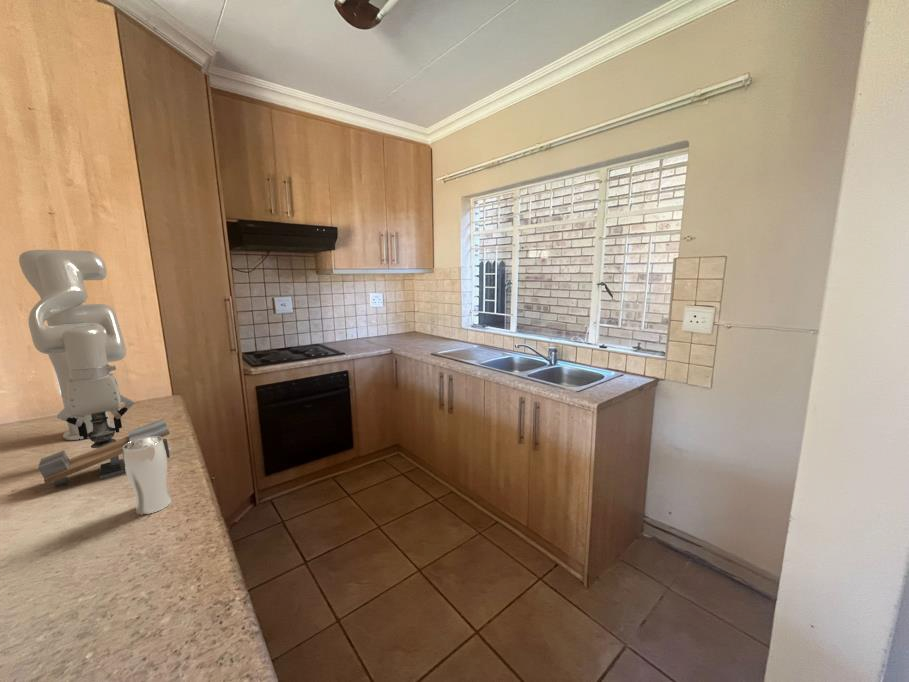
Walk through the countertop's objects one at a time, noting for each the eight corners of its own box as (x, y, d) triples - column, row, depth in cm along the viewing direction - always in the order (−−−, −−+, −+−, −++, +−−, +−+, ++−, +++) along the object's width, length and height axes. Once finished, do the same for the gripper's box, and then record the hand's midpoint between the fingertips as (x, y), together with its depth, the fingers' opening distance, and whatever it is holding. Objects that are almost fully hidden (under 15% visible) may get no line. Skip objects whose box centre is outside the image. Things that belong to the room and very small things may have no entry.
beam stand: (57, 479, 91) (53, 462, 91) (167, 450, 106) (165, 435, 105) (53, 493, 86) (49, 474, 85) (170, 460, 100) (168, 444, 99)
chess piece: (100, 449, 100) (92, 408, 97) (83, 447, 101) (75, 406, 99) (123, 440, 106) (116, 400, 103) (107, 437, 107) (99, 399, 104)
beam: (51, 469, 91) (42, 455, 90) (166, 424, 106) (160, 411, 105) (45, 486, 84) (36, 471, 83) (170, 435, 99) (164, 421, 97)
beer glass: (128, 520, 76) (115, 453, 73) (138, 502, 82) (126, 439, 79) (170, 510, 79) (159, 445, 76) (176, 493, 85) (166, 432, 82)
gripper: (131, 364, 107) (141, 421, 111) (44, 375, 96) (58, 438, 100) (132, 370, 102) (142, 430, 106) (41, 382, 91) (55, 449, 94)
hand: (102, 433), depth 103 cm, fingers closed on chess piece, 5 cm apart
